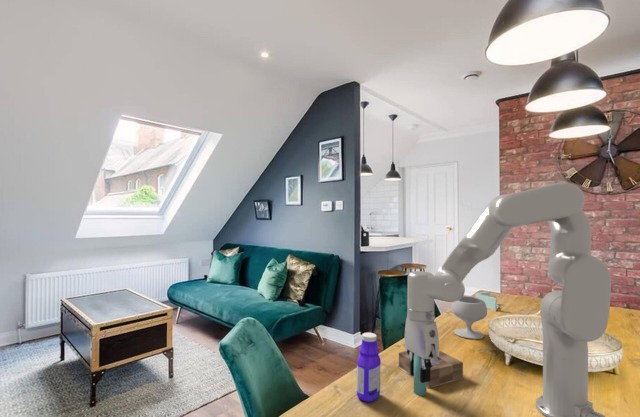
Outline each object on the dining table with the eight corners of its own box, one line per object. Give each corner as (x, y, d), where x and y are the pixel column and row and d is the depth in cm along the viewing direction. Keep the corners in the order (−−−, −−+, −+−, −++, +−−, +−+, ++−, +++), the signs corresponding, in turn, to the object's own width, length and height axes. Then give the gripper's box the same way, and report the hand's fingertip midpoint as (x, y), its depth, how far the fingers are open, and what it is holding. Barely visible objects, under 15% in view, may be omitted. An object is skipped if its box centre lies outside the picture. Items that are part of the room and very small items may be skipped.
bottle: (366, 388, 99) (367, 329, 99) (383, 394, 95) (384, 333, 95) (352, 398, 93) (353, 335, 93) (370, 406, 90) (371, 341, 90)
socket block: (463, 378, 105) (463, 362, 105) (428, 388, 99) (428, 371, 99) (431, 359, 118) (431, 345, 118) (397, 367, 112) (398, 352, 112)
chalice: (464, 326, 153) (464, 294, 153) (493, 336, 141) (494, 301, 141) (444, 332, 145) (444, 298, 146) (474, 343, 134) (474, 305, 134)
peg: (429, 394, 96) (429, 352, 96) (419, 396, 94) (419, 354, 94) (420, 387, 99) (420, 347, 99) (410, 390, 98) (411, 349, 98)
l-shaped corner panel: (495, 312, 178) (495, 298, 178) (475, 306, 188) (475, 293, 188) (508, 309, 183) (508, 295, 184) (488, 304, 194) (488, 291, 194)
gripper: (452, 321, 91) (451, 389, 91) (412, 305, 106) (411, 363, 106) (431, 325, 88) (430, 395, 88) (392, 308, 103) (392, 368, 103)
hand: (420, 377), depth 97 cm, fingers closed on peg, 3 cm apart
